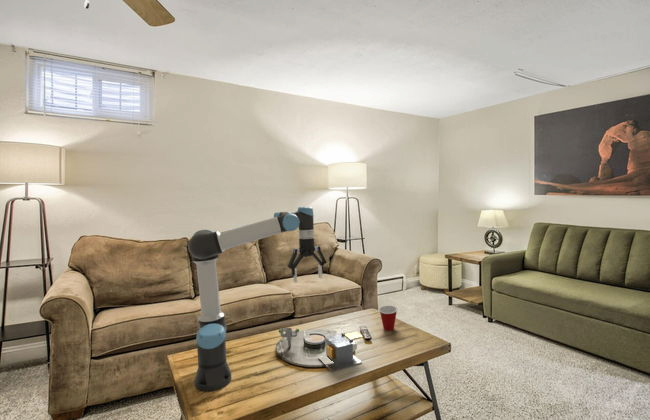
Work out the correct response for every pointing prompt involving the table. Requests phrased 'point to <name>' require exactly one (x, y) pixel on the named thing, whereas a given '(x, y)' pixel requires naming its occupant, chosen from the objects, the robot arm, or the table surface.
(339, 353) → the grey boxy piece
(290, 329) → the mechanical component
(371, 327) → the table surface
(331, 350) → the lynch pin
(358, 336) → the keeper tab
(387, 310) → the plastic cup
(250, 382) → the table surface
